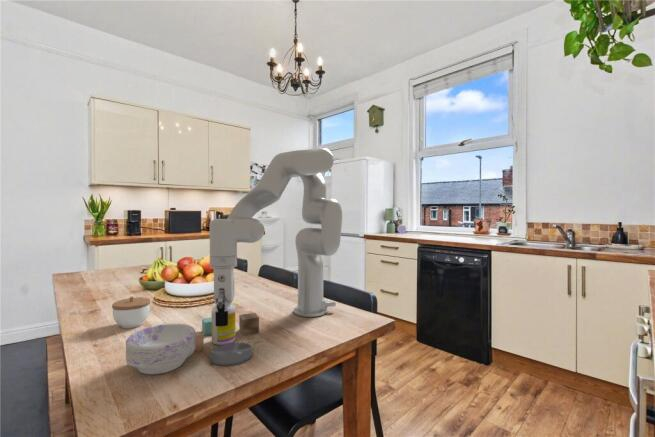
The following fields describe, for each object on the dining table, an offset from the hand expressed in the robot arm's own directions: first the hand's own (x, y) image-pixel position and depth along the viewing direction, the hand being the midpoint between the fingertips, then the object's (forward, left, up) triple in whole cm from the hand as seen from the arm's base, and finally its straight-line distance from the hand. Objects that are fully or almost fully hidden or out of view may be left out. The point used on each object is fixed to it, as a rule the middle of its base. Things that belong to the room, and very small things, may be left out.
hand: (223, 319), depth 93 cm
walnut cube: (-7, -6, -6) cm, 11 cm away
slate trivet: (-3, +10, -6) cm, 12 cm away
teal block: (+4, -9, -6) cm, 11 cm away
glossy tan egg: (+7, +4, -6) cm, 10 cm away
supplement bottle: (0, 0, -6) cm, 6 cm away
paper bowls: (+13, +12, -7) cm, 19 cm away
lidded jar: (+31, -19, -7) cm, 37 cm away
